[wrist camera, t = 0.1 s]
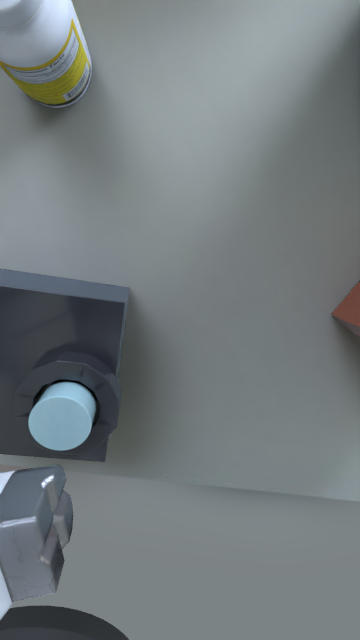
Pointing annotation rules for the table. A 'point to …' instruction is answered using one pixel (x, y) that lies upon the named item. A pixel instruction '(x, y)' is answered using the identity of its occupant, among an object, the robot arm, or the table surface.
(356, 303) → the orange push button block
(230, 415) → the table surface
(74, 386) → the light blue push button
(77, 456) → the grey push button box
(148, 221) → the table surface
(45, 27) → the supplement bottle
